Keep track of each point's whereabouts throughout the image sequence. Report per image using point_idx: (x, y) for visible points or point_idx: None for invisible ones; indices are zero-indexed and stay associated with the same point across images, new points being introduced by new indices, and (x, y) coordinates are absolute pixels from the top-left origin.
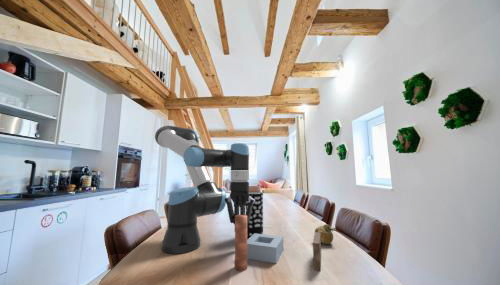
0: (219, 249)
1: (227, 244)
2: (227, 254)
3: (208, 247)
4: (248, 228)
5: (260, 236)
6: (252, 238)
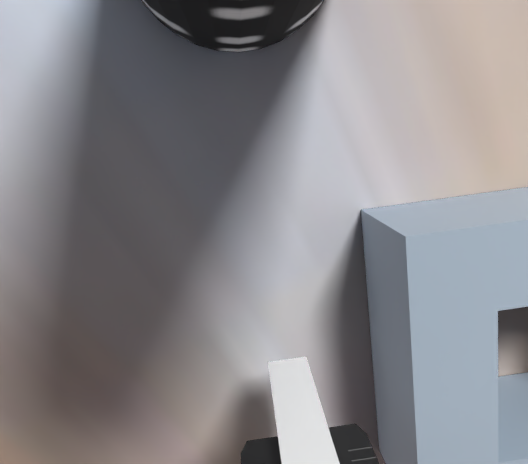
0: (120, 418)
1: (105, 297)
2: (239, 458)
3: (4, 431)
4: (199, 19)
5: (512, 307)
6: (451, 404)
